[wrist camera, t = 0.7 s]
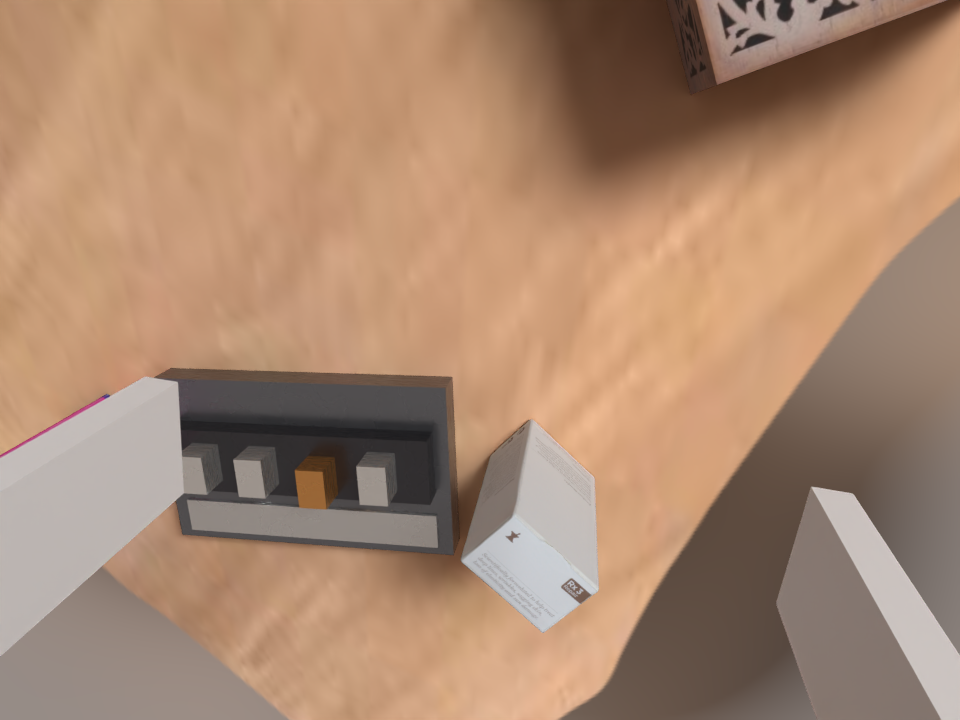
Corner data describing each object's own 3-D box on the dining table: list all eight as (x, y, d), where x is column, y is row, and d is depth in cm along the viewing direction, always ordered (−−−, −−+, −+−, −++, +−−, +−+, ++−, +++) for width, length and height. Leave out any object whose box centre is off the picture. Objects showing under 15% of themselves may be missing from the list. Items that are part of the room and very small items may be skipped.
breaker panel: (197, 519, 52) (153, 562, 47) (170, 368, 48) (118, 397, 43) (459, 538, 49) (441, 587, 44) (452, 376, 45) (432, 409, 40)
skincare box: (487, 456, 46) (449, 562, 35) (534, 413, 45) (509, 510, 33) (554, 517, 47) (537, 641, 36) (602, 476, 45) (601, 593, 34)
